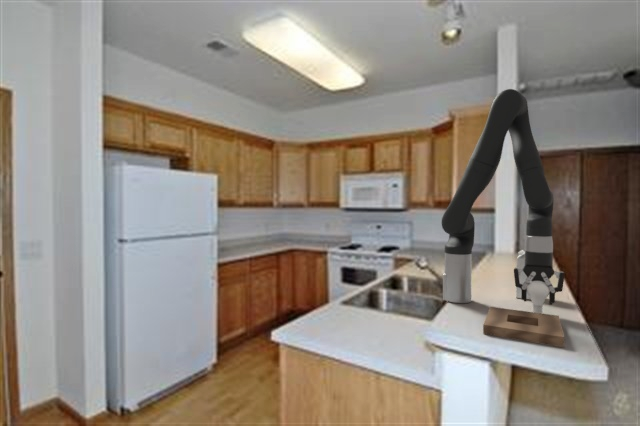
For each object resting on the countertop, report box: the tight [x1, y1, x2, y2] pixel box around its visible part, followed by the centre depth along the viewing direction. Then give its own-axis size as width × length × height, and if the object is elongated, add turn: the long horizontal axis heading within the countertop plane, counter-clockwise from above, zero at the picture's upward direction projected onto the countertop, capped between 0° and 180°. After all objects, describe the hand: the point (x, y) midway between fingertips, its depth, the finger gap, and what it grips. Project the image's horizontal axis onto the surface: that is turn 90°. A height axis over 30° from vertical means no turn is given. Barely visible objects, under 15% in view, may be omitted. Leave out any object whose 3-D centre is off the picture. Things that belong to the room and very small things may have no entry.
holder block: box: [482, 306, 565, 348], centre depth 100 cm, size 18×20×2 cm
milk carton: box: [515, 249, 532, 301], centre depth 135 cm, size 7×7×19 cm
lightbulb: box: [526, 281, 550, 314], centre depth 113 cm, size 6×6×11 cm
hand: (537, 302), depth 113 cm, fingers closed on lightbulb, 6 cm apart
